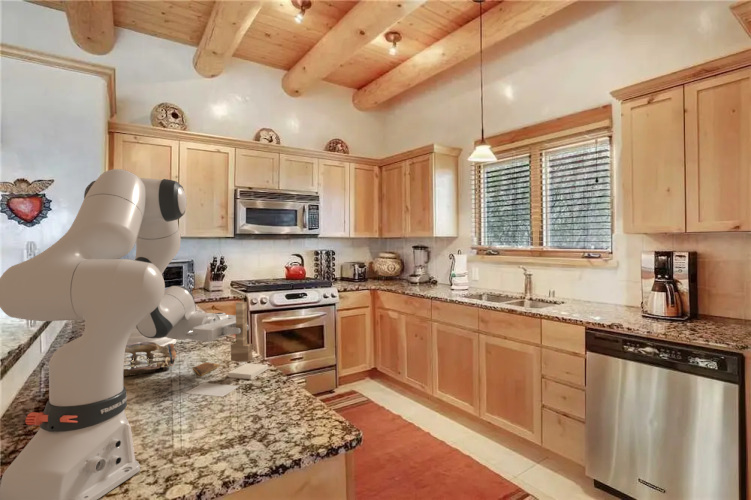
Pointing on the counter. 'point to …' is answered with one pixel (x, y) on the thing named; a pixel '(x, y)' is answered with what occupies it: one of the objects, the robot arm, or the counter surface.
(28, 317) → the robot arm
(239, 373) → the slab tile
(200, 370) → the shard
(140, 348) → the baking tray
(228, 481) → the counter surface
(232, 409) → the counter surface
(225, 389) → the rest mat
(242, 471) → the counter surface
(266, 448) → the counter surface
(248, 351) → the stacked wooden blocks
